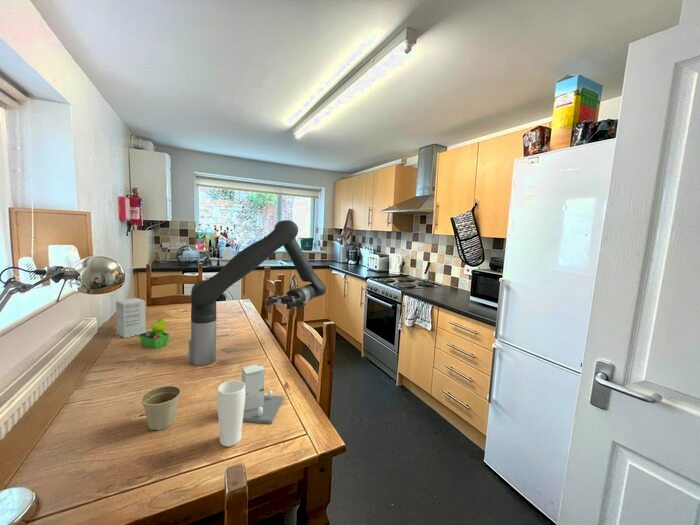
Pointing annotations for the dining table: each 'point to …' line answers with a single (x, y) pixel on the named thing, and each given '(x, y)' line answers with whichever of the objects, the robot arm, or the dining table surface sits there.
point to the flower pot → (161, 406)
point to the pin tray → (264, 410)
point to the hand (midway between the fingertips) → (277, 305)
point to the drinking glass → (230, 411)
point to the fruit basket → (155, 336)
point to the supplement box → (130, 317)
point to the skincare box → (253, 386)
